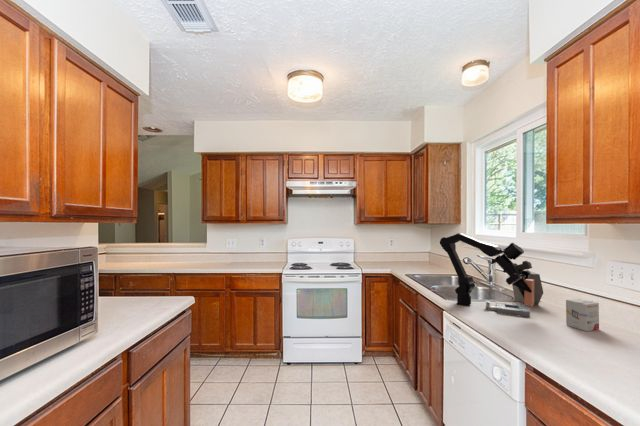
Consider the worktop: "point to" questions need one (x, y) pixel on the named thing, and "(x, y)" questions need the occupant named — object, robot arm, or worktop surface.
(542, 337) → the worktop surface
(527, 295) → the wedge pin
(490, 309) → the bracket
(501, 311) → the grey square frame
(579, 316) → the ink box
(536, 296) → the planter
